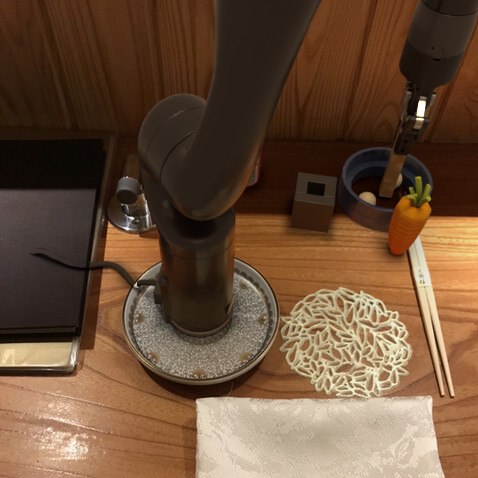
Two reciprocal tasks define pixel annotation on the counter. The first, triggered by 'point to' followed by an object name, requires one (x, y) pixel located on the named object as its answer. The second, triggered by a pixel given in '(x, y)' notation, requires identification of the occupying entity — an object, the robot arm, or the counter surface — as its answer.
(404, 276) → the counter surface
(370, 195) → the bead
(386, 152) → the bowl
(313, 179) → the stick holder
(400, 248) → the carrot
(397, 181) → the bead
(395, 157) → the stick
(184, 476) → the counter surface
